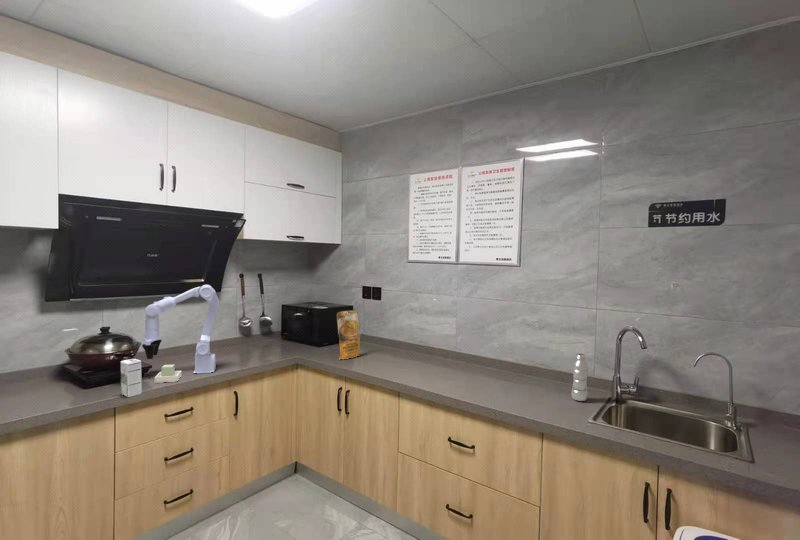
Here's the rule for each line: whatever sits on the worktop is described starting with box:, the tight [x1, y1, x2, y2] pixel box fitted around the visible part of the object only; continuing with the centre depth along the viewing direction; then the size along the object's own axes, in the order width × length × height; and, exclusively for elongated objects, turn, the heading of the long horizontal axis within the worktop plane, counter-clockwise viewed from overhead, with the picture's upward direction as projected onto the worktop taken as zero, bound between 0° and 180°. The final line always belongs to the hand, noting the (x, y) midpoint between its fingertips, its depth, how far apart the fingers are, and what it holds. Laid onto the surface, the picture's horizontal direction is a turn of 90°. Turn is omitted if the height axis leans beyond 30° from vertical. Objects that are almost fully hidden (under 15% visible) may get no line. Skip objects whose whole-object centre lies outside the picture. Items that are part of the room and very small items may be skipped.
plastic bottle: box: [570, 353, 589, 402], centre depth 175 cm, size 6×7×20 cm
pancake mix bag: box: [336, 309, 361, 361], centre depth 240 cm, size 7×19×28 cm, turn 139°
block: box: [161, 364, 176, 377], centre depth 191 cm, size 4×4×6 cm
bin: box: [154, 370, 182, 384], centre depth 191 cm, size 9×9×3 cm
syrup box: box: [120, 358, 143, 398], centre depth 171 cm, size 6×6×14 cm
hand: (152, 356), depth 197 cm, fingers open, 7 cm apart
